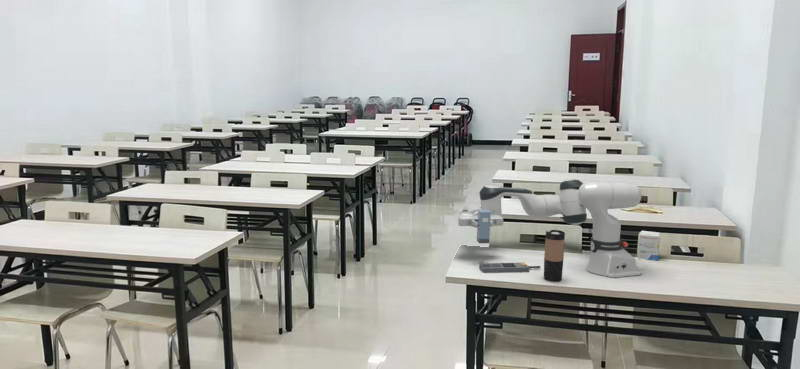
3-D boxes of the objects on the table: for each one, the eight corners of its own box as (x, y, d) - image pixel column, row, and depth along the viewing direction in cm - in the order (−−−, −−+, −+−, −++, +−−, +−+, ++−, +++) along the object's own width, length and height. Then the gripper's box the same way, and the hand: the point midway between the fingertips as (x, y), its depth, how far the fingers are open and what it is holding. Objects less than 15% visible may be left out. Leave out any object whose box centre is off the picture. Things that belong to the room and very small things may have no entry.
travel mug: (562, 282, 239) (565, 235, 236) (543, 281, 241) (546, 233, 237) (561, 276, 246) (564, 230, 243) (542, 275, 248) (545, 229, 244)
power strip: (537, 266, 260) (537, 261, 259) (542, 271, 253) (542, 266, 252) (479, 267, 257) (479, 262, 256) (483, 272, 250) (483, 267, 250)
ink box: (658, 256, 278) (660, 232, 275) (657, 261, 270) (660, 236, 268) (638, 253, 281) (640, 230, 279) (637, 258, 274) (639, 234, 271)
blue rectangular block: (486, 240, 263) (488, 209, 261) (489, 243, 259) (490, 212, 256) (476, 240, 263) (477, 209, 261) (479, 243, 258) (480, 212, 256)
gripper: (498, 224, 274) (507, 231, 260) (455, 224, 272) (461, 231, 258) (499, 210, 273) (507, 217, 259) (455, 211, 271) (461, 217, 257)
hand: (484, 224), depth 259 cm, fingers closed on blue rectangular block, 5 cm apart
